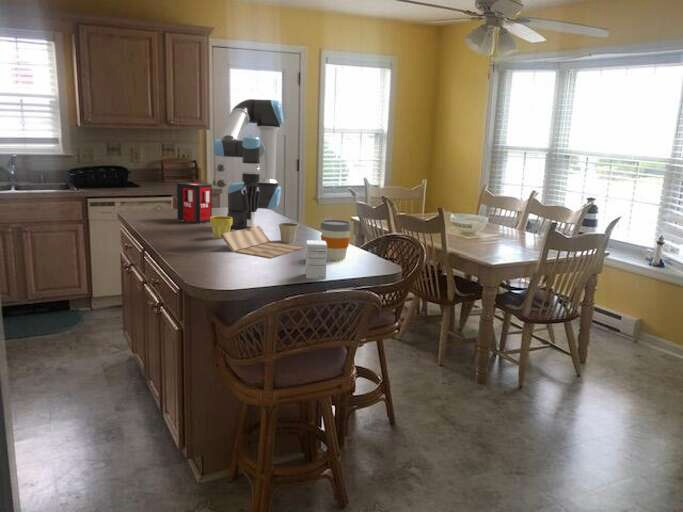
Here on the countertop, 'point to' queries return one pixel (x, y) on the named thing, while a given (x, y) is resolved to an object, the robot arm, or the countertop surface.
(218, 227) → the plant pot
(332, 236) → the reusable coffee cup
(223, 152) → the robot arm
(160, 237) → the countertop surface
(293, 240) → the flower pot
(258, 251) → the laid floor
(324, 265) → the supplement box
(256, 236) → the board
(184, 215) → the cleaning product box
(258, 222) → the countertop surface
